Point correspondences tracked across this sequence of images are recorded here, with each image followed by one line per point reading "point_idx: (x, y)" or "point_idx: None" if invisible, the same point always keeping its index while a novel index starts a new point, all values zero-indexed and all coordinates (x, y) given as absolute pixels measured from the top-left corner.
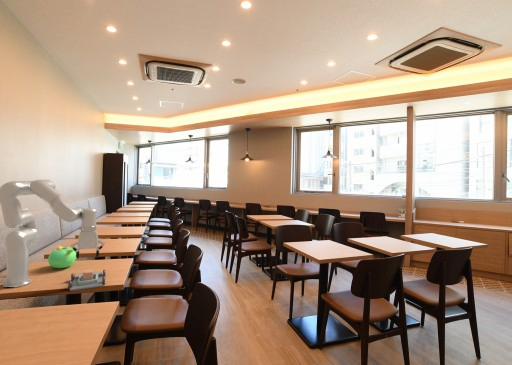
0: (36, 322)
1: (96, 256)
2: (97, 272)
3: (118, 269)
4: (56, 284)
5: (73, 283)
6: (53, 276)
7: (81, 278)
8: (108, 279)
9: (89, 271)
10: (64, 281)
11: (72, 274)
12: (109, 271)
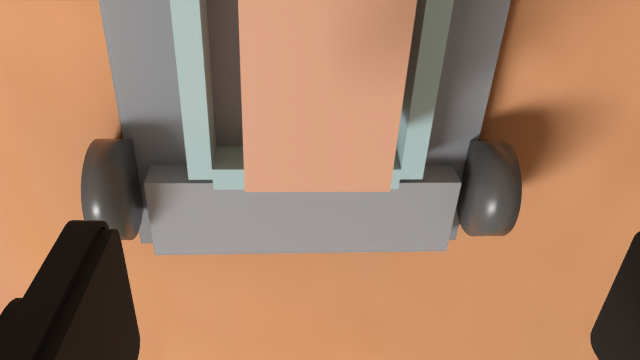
0: None
1: (90, 238)
2: (207, 242)
3: None
4: (634, 121)
5: (489, 7)
6: None
7: None
8: (43, 37)
9: (298, 48)
10: (546, 183)
11: (508, 198)
12: None
